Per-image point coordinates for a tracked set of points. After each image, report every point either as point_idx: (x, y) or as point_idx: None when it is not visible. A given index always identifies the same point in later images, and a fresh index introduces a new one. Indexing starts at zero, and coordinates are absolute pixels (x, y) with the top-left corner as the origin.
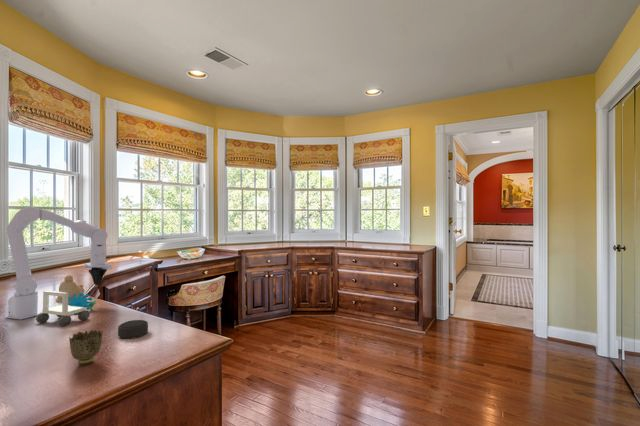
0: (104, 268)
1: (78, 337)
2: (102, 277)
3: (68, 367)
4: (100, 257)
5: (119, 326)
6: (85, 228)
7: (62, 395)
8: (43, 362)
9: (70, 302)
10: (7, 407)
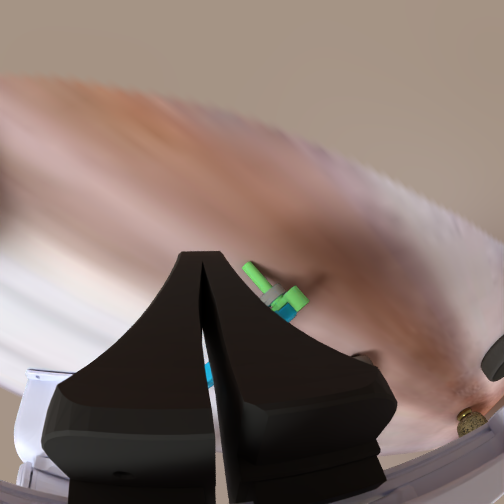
0: (425, 470)
1: None
2: (259, 305)
3: (449, 422)
4: None
5: (492, 381)
6: None
7: None
8: (417, 436)
9: (213, 383)
10: (434, 448)
